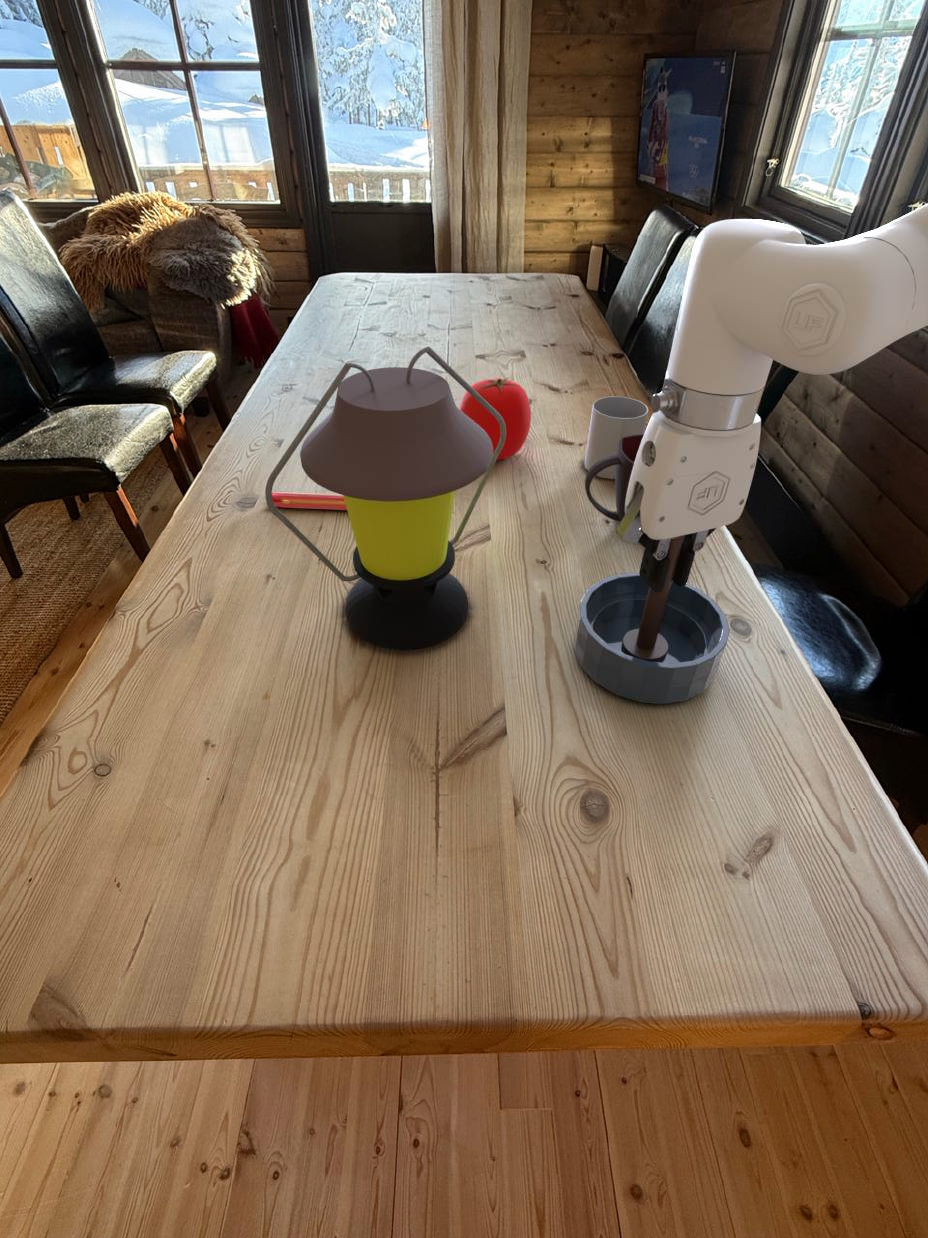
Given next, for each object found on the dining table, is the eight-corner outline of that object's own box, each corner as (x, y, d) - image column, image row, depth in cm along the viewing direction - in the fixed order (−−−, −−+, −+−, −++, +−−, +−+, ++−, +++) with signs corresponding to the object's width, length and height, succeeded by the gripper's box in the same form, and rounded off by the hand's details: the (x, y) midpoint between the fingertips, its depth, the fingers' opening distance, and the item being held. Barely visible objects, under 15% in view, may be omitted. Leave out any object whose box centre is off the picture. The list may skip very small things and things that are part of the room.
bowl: (723, 634, 77) (738, 594, 73) (701, 728, 66) (717, 686, 62) (595, 598, 81) (602, 559, 77) (555, 680, 71) (561, 639, 67)
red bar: (276, 502, 99) (266, 509, 95) (275, 488, 98) (265, 494, 94) (435, 509, 98) (431, 516, 94) (435, 494, 97) (432, 501, 93)
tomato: (541, 462, 108) (549, 386, 100) (478, 476, 104) (480, 399, 96) (506, 432, 116) (510, 359, 108) (446, 444, 113) (445, 370, 104)
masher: (670, 643, 72) (704, 526, 62) (661, 672, 69) (695, 553, 59) (627, 631, 74) (653, 515, 64) (616, 658, 70) (642, 540, 60)
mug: (685, 547, 90) (707, 467, 82) (585, 549, 89) (598, 470, 81) (664, 508, 97) (683, 432, 90) (572, 511, 97) (582, 434, 89)
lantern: (294, 672, 71) (233, 403, 52) (306, 567, 86) (262, 326, 66) (520, 655, 73) (544, 392, 54) (494, 556, 88) (506, 319, 68)
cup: (596, 450, 112) (605, 392, 105) (643, 462, 108) (655, 403, 102) (576, 470, 106) (584, 410, 99) (625, 484, 103) (636, 423, 96)
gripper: (650, 434, 48) (610, 623, 60) (821, 404, 52) (752, 586, 65) (599, 395, 53) (572, 576, 66) (758, 371, 58) (705, 545, 70)
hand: (662, 580), depth 65 cm, fingers closed on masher
